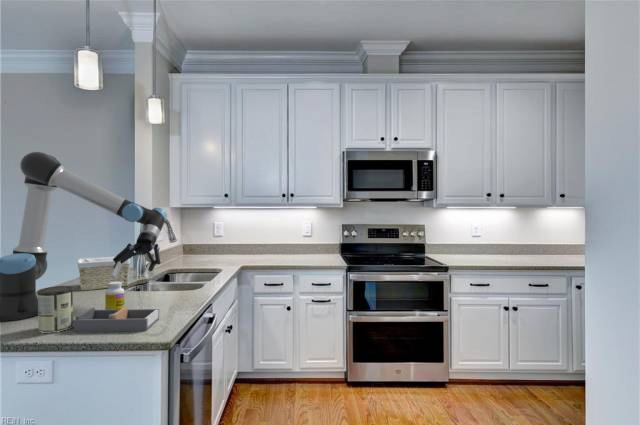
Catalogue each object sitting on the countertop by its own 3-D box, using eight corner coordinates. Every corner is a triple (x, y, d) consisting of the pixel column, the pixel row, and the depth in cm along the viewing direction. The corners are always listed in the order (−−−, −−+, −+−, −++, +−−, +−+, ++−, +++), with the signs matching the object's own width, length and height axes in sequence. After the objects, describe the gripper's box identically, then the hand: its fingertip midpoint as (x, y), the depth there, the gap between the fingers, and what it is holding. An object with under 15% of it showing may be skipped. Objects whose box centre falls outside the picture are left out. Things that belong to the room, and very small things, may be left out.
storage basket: (77, 292, 192) (76, 262, 191) (78, 285, 206) (77, 257, 205) (130, 287, 204) (130, 258, 203) (128, 281, 218) (128, 255, 217)
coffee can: (50, 324, 141) (50, 285, 141) (79, 324, 141) (79, 285, 141) (30, 334, 131) (29, 292, 130) (61, 333, 131) (61, 292, 131)
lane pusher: (103, 326, 135) (103, 315, 135) (115, 318, 145) (115, 307, 145) (115, 326, 136) (115, 315, 136) (127, 317, 146) (127, 307, 146)
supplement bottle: (116, 318, 149) (116, 284, 149) (101, 317, 150) (101, 284, 150) (128, 313, 156) (128, 281, 155) (113, 312, 157) (113, 280, 157)
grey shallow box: (74, 331, 133) (74, 317, 133) (93, 320, 146) (93, 307, 146) (146, 330, 135) (146, 316, 135) (159, 319, 148) (159, 306, 148)
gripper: (177, 242, 177) (161, 282, 162) (125, 241, 179) (105, 280, 165) (172, 231, 171) (154, 272, 157) (118, 231, 174) (96, 270, 159)
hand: (129, 276), depth 161 cm, fingers open, 13 cm apart
